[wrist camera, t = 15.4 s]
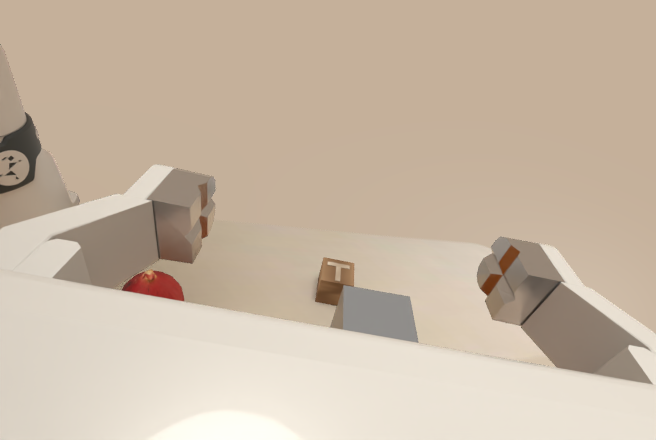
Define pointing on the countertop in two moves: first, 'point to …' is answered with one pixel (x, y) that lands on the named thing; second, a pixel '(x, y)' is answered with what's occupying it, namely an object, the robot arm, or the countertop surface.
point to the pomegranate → (155, 285)
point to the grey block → (375, 314)
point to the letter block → (333, 280)
